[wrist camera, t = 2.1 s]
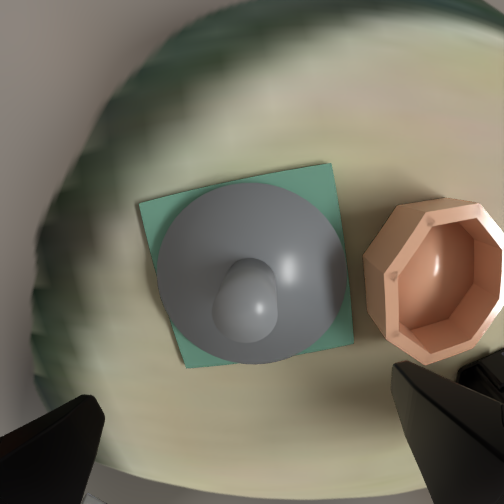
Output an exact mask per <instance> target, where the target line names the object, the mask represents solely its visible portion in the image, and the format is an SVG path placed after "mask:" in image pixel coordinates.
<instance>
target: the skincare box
mask: <svg viewBox="0 0 504 504" xmlns="http://www.w3.org/2000/svg"><path fill="white" fill-rule="evenodd" d="M81 504H107V503H105V502H103V501H101V500H100V499H98V498H96V497H94V496H93V495H91V494H90V493H87V494H86V495H85V497H84V498H83V500H82V502H81Z"/></svg>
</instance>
